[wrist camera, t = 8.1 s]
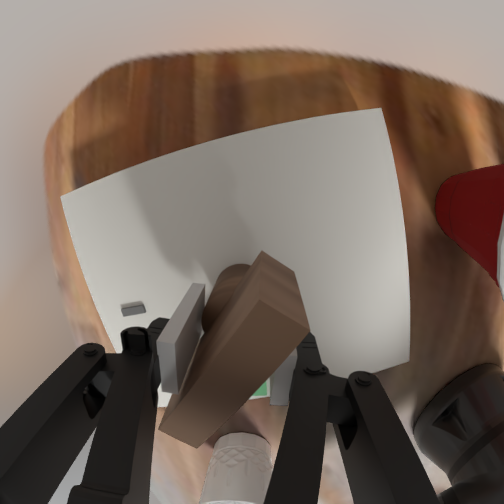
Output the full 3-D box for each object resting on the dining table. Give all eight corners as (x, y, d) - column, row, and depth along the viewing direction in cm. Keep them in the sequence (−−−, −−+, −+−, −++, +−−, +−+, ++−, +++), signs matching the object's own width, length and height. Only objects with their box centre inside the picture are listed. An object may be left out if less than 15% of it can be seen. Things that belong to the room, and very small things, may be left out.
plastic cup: (410, 273, 24) (490, 340, 12) (405, 148, 21) (503, 139, 9) (492, 258, 23) (572, 301, 11) (492, 151, 20) (583, 155, 9)
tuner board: (363, 117, 21) (382, 107, 16) (393, 338, 25) (410, 363, 21) (86, 192, 23) (58, 197, 19) (157, 382, 28) (145, 409, 24)
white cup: (226, 420, 29) (214, 493, 19) (288, 440, 29) (291, 509, 20) (201, 452, 31) (187, 515, 21) (257, 469, 31) (254, 530, 22)
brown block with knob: (252, 225, 19) (237, 286, 9) (297, 256, 20) (329, 341, 9) (163, 360, 22) (115, 458, 12) (201, 382, 23) (172, 486, 12)
